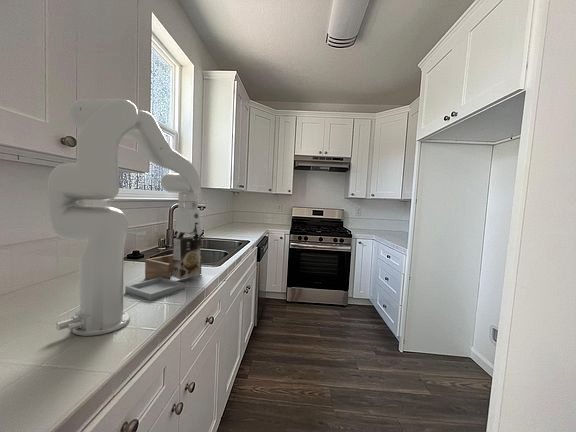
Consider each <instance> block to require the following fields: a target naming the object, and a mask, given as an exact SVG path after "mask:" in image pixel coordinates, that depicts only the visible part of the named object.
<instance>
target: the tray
mask: <svg viewBox="0 0 576 432" xmlns="http://www.w3.org/2000/svg"><path fill="white" fill-rule="evenodd" d="M124 287H125V290H124V291H125V292H124V294H127V295H131V296H133V297H137V298H140V299H142V300H146V301H148V302H152V301H155V300H159V299H161V298H164V297H167V296H171V295H173V294H176V293H178V292H179V293H180V292H182V291H185V290H186V283H185V282H180V281H177V280H173V279H171V278H170V279H166V278H162V277H159V278H155V279H151V280H149V279H146V280H143V281H140V282H137V283H133V284H129V285H125V286H124Z"/></svg>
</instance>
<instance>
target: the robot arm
mask: <svg viewBox="0 0 576 432" xmlns="http://www.w3.org/2000/svg"><path fill="white" fill-rule="evenodd" d="M68 116H69V119H70V121H71V122H72V124H73V125H74V126H75V127H76V128H77V129H78V130H80V131H79V132H78V135H77V138H76V162H67V163H65V162H64V163H62V164H59V165H57V166H55V167H54V168H53V169H52V170H51V172H50V174H49V175H48V179H47V194H48V195H47V197H48V207H49V216H50V224H51V226H52V229H53V231H54V233H55V235H57V237H59V238H61V239H63V240H65V241H74V242H82V243H83V242H85V243H87V244H86V245H85V247H84V250H83V251H82V253H81V255H80V257H79V310H77V311H76V312H74V316H72V317H70V319H69V318H68V319H64V320H61V321H57V322H56V324H55V328H56V331H60V330H61V331H62V330H65V329H67V330H69V331H71V330H72V332H73V333H74V334H75V335H78V336H85V337H87V336H88V337H90V336H99V335H103V334H109V333H112V332H115V331H117V330H120V329H122V328H124V327H125V326H126V325H128V324H129V322H130V320H131V319H130V317H131V315H130V314H129V313H128V312H126V311H124V252H125V244H126V243H125V242H126V237H127V233H128V229H129V221H128V216H127V215H126V214H125V213H124V212H123V211H122V210H121V209H119V208H116V207H113V206H108V205H107V206H106V205H105V206H104V205H88V203H87V201H91V202H93V201H94V202H95V201H96V202H107V201H110V200H113V199H114V198H116V197H117V196H118V194H119V190H120V178H119V177H120V174H119V173H120V171H119V158H118V157H119V151H118V150H119V144H120V142H121V140H133V141H135V143H136V144H137V145H138V147H139V148H140V149H141V151H142V153H143V154H144V155H145V157H146V158H147V160H148V161H149V162H150V163H152V164H154V165H156V166H158V167H161V168H164V169H166V170H170V171H173V172H169V173H166V174H164V175H163V176H162V177H161V179H160V185H161V187H162V188H161V189H163V190H164V191H165V192H168V193H172V194H177V193H178V195H177V196H178V199H177V200H178V202H177V203H178V204H177V205H178V206H177V207H178V208H177V212H176V218H175V226H173V227H172V230H173V231H174V234H175V236H176V237H175V238H183V237H184V236H185V235H186V234H189V237H191V239H192V240H190V250H195V249H197V240H198V239H199V238H201V235H202V234H203V232H204V231H203V229H202V227H201V225H202V223H201V214H200V209H199V208H198V207H199V203H198V202H199V200H198V198H199V197H198V196H199V190H200V189H201V185H202V183H201V178H200V175H199V174H198V171H197V170H196V167H195V166H194V165H193V163H192V162H191V161H190V160H189V159H187V157H184V156H183V155H182V154H181V153H179V152H177V151H176V150H175V149H173V148H172V146H171V145H170V143H169V142H168V140H167V138H166V136H165V135H164V133H163V131H162V129H161V127H160V126H159V123H158V122H157V120H156V118H155V117H154V115H153V114H152V113H150V112H148V111H145V110H138V109H137V106H136V104H135V103H133V102H132V101H130V100H128V99H124V98H120V97H119V98H115V97H113V98H111V97H110V98H109V97H108V98H107V97H105V98H86V99H85V98H84V99H77V100H76V101H73V102H72V103H71V104H70V106H69V108H68Z"/></svg>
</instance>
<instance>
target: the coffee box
mask: <svg viewBox="0 0 576 432" xmlns="http://www.w3.org/2000/svg"><path fill="white" fill-rule="evenodd" d="M190 240H192V239H191V236H185V237H184V236H183V238H176V237H173V252H172V254H173V272H172V277H174V278H176V279H179V280H184V279H189V278H193V277H198V276H201V275H200V257H201V244H202V242H201V241H202V238H201V237H199V239H198V240H197V249H195V250H190Z"/></svg>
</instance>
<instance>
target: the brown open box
mask: <svg viewBox="0 0 576 432" xmlns="http://www.w3.org/2000/svg"><path fill="white" fill-rule="evenodd" d="M144 261H145V263H144V265H145V266H144V278H145V280H151V279H155V278H159V277H162V278H166V279H170V280H171V274H173V253H172V254H168V255H163V256H157V257H152V258H145V260H144ZM202 261H203V259H202V256H200V274H201V275H202Z"/></svg>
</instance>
